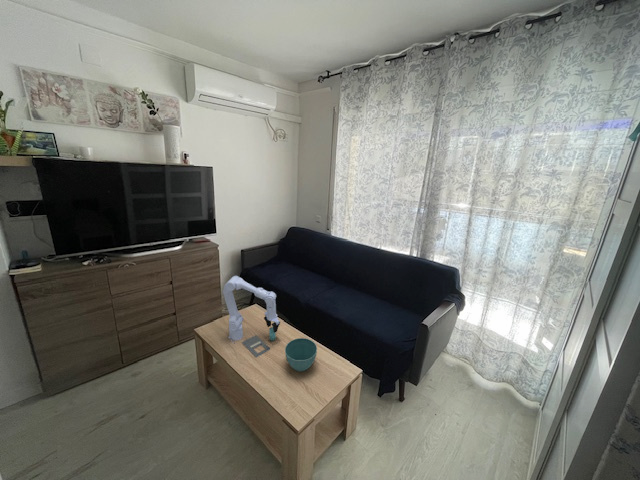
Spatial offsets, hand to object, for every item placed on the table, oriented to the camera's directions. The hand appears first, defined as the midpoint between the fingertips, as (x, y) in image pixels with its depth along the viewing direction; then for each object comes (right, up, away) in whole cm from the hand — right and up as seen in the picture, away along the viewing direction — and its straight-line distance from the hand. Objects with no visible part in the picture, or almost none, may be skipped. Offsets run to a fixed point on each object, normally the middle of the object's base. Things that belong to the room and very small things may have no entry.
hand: (272, 329), depth 160 cm
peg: (0, -8, +2) cm, 8 cm away
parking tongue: (0, -9, +3) cm, 10 cm away
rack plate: (-9, -11, -4) cm, 15 cm away
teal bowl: (+20, -16, -17) cm, 30 cm away
